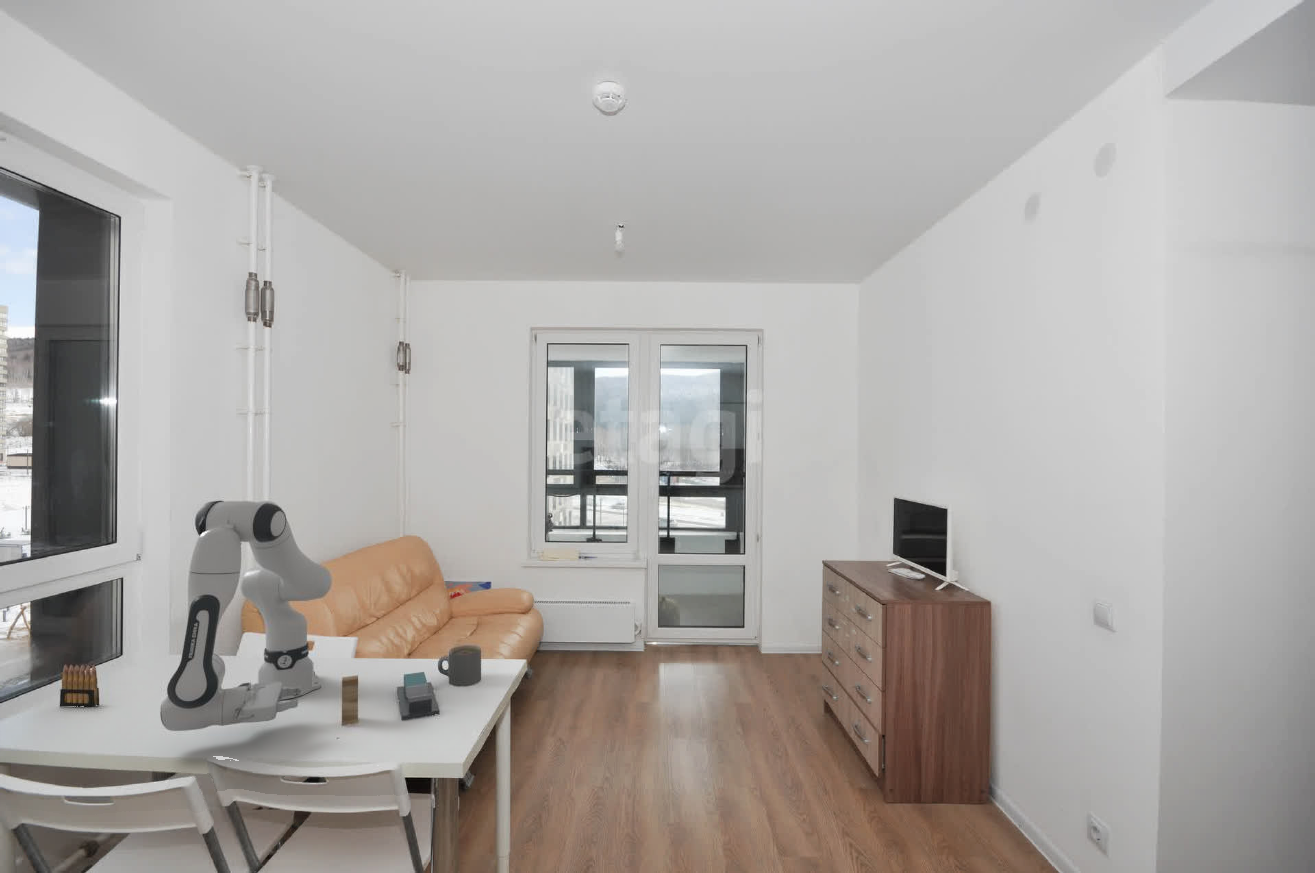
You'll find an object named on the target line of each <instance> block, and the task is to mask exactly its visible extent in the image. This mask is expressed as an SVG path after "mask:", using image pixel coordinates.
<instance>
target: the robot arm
mask: <svg viewBox="0 0 1315 873" xmlns="http://www.w3.org/2000/svg"><path fill="white" fill-rule="evenodd" d="M194 518H195V519H194V525H195V530H196V533H197V534H198V538H197V541H196V543H195V546H194V549H193V552H192V556H191V559H190V560H191V561H190V564H189V570H188V578H187V580H188V581H187V622H186V623H187V624H186V630H185V636H184V642H183V646H182V647H183V648H182V654H181V659H180V661H179V665H178V667H177V669H176V670H175V672H174V674H173V675H172V676H171V678H170V680H169V682H168V684H167V687H166V694H167V696H166V697H165V698H164V700H163V701H162V702H161V705H160V711H159V712H160V721H161V724H162V725H163V726H164V728H165V729H166V730H168V731H173V732H181V731H182V732H183V731H184V732H186V731H194V730H202V729H206V728H208V727H212V726H220V727H221V726H222V727H223V726H229V725H230V726H231V725H236V724H243V723H247V724H248V723H249V724H250V723H261V722H269V721H273V720H276V717H277V714H278V713H281V712H284V711H285V712H286V711H287V710H289V709H297V707H299V706H298V705H299V699H298V697H300V696H303V695H305V694H308V693H310V692H312V691H314V690H317V689H321V688H322V684H321V682H320V680H319V678H318V676H317V675H316V672H315V671H314V670H315V669H314V661H313V660H312V659H311V658H309V651H310V647H309V646H310V645H309V643H308V621H307V618H306V616H305V615H304V614H302V613H301V612H299V611H297V610H295V609H294V608H293V607H292V606H291V604H290V602H308V601H313V600H317V599H321V598H324V597H325V596H326V595H327V594H328V593H329V592H330V590H331V587H332V584H333V583H332V582H333V577H332V573H331V571H330V570H329V569H328V568H327V567H326V566H323V565H320V564H319V563H316V562H315V561H313V560H311V558H309V557H308V556H306V554H304V553H303V551H301V549H300V548H299V547H298V545H297V542H296V539H295V538H294V535H293V531H292V530H291V529H292V528H291V526H290V523H289V521H288V519H287V515H286V513H285V512H284V510H283V508H282V507H281V506H279V505H278V504H276V503H275V502H273V501H269V500H262V501H252V500H251V501H250V500H249V501H248V500H241V501H239V500H237V501H235V500H233V501H232V500H228V501H227V500H226V501H224V500H214V501H213V500H212V501H209V502H208V501H207V502H206V503H205V504H203V505H202V506H201V507H200V508H199V510H198V511H197V512H196V515H195V517H194ZM242 543H249V547H250V549H251V552H252V554H253V557H254V560H255V562H256V563H257V564H258V565H259V566H256V567H252V568H248V569H247V571H245V573H244V574H243V576H242V577H241V580H240V576H241V571H242V570H241V568H242ZM239 580H240V581H239ZM239 582H240V584H239ZM238 586H240V592H241V594H242V596H243V597H244V599H246V600H248V601H249V602H251V603H252V604H253V605H254V606H255V607H256V609H258V611H259V613H260V615H261V617H262V619H263V622H264V629H265V647H264V650H263V651H264V652H263V660H264V663H263V664H262V665H261V666H260V667H259V668H258V673H257V682H256V683H254V684H252V682H249V681H248V682H243V683H241V684H240V685H238V686H236V687H235V686H234V687H232V688H223V687H222V685H223V681H224V678H225V675H226V665H225V661H224V660H223V659H222V657H220V656H219V655H218V654H215V653H214V652H215V645H216V639H217V634H218V627H219V624H220V621H221V619H222V617H223V615H224V613H225V612H226V609H227V608H228V607H229V605H230V604H231V602H232V601H233V599H234V596H235V595H236V592H237V588H238ZM288 699H290V700H288ZM282 700H286V701H282Z"/></svg>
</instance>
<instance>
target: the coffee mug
mask: <svg viewBox="0 0 1315 873" xmlns="http://www.w3.org/2000/svg"><path fill="white" fill-rule="evenodd" d="M444 661H445V662H447V664H448V665H447V669H444V667H443V662H444ZM437 669H438V672H439V673H440V674H441V675H444V676H446V677H448V684H449V685H451V686H452V685H453V687H458V688H459V687H462V686H463V687H469V685H470V686H473V685H474V686H475V685H477V684H478V683H480V682H481V681H482V648H481V647H480V646H479V645H474V644H473V645H472V644H467V645H465V644H464V645H459V646H455V647H452V648H450V649H449V651H448V655H447V654H446V655H443V656H441V657H440V658H439V659H438V662H437Z"/></svg>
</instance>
